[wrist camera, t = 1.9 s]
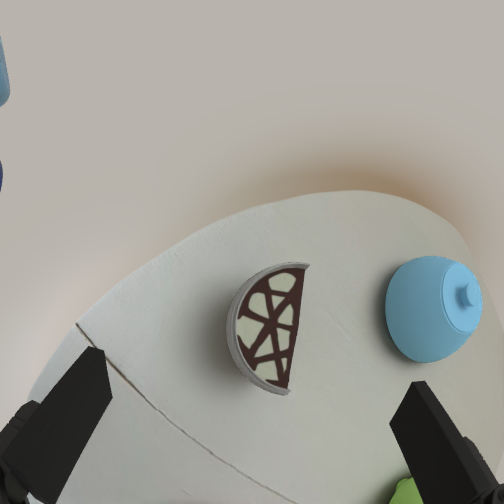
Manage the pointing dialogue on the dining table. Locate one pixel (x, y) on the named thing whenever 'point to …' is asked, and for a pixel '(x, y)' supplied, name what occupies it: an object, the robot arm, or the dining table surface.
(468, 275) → the sugar bowl
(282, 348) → the food container
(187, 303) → the dining table surface
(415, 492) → the teapot
